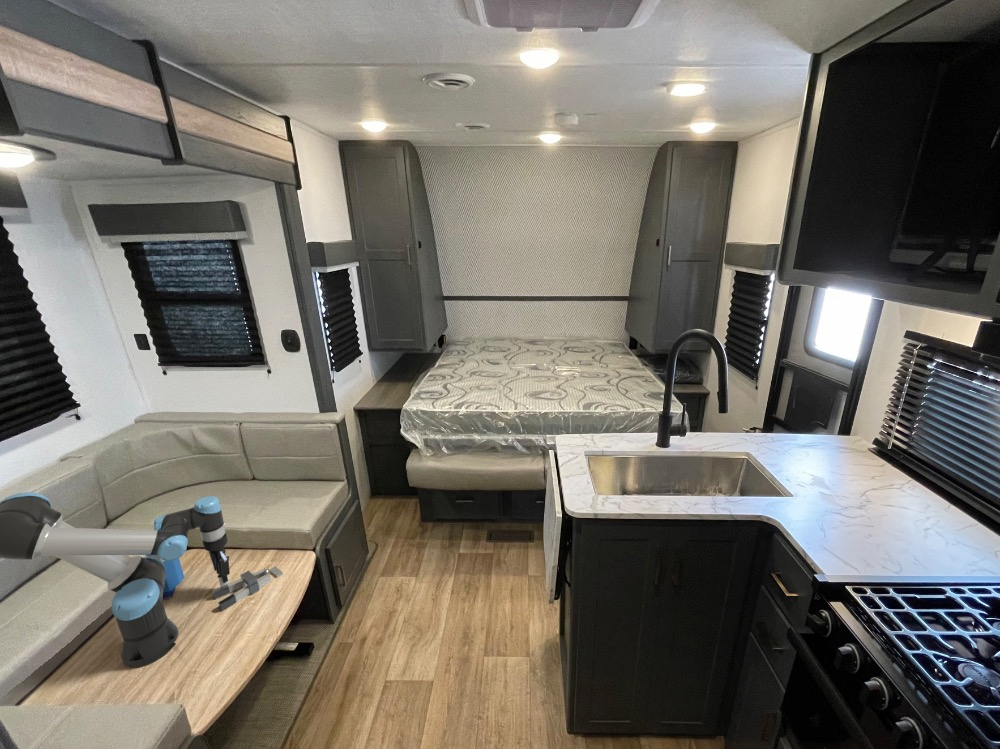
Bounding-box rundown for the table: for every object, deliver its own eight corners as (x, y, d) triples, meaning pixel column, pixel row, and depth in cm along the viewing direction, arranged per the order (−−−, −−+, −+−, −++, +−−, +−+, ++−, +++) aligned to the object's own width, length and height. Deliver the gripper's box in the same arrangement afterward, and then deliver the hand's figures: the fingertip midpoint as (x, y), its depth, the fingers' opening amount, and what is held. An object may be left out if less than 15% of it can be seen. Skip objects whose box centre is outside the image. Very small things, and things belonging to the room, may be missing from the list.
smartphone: (152, 592, 167) (198, 575, 175) (152, 594, 167) (198, 577, 175) (150, 604, 161) (198, 586, 169) (151, 606, 161) (198, 588, 169)
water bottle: (169, 595, 165) (153, 541, 158) (150, 592, 167) (133, 538, 160) (190, 578, 174) (176, 525, 167) (172, 574, 176) (156, 523, 169)
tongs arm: (215, 602, 160) (213, 594, 159) (214, 596, 163) (212, 588, 162) (270, 578, 172) (269, 570, 170) (268, 572, 174) (266, 565, 173)
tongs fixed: (222, 611, 156) (220, 605, 155) (215, 603, 160) (213, 597, 159) (283, 574, 174) (281, 568, 173) (275, 568, 177) (274, 562, 176)
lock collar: (251, 595, 163) (248, 583, 162) (243, 586, 167) (240, 575, 166) (259, 590, 166) (257, 578, 164) (251, 582, 170) (248, 570, 168)
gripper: (233, 537, 158) (243, 588, 165) (217, 524, 166) (228, 574, 172) (210, 548, 153) (222, 601, 159) (195, 534, 160) (207, 586, 167)
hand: (225, 587), depth 166 cm, fingers closed
